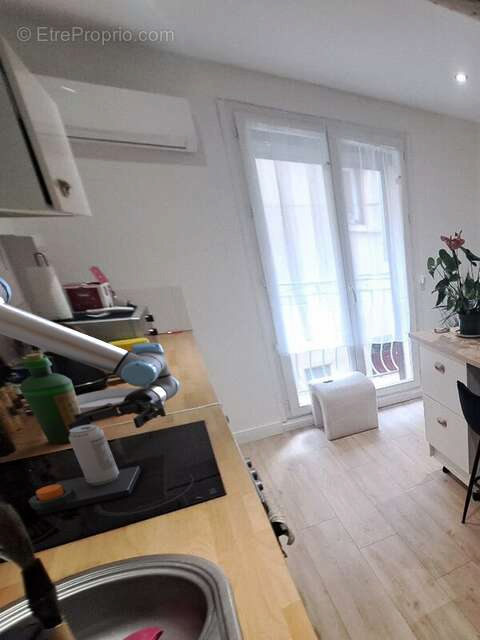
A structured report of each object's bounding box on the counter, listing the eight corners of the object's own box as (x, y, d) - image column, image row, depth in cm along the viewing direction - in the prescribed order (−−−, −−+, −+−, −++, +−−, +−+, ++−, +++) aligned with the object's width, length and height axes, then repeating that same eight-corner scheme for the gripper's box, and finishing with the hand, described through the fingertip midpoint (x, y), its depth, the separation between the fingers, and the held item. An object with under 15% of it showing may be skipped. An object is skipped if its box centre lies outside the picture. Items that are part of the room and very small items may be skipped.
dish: (137, 414, 151) (133, 401, 150) (53, 425, 141) (47, 412, 139) (153, 396, 169) (149, 384, 168) (79, 404, 159) (74, 392, 157)
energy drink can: (100, 475, 109) (79, 423, 104) (126, 473, 110) (107, 422, 105) (81, 487, 104) (58, 433, 98) (109, 485, 105) (87, 432, 99)
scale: (30, 519, 94) (23, 506, 93) (53, 488, 106) (48, 477, 105) (129, 497, 103) (124, 485, 102) (140, 471, 115) (136, 460, 113)
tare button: (36, 502, 95) (32, 495, 94) (43, 494, 98) (39, 487, 97) (61, 497, 97) (57, 490, 96) (66, 489, 100) (63, 482, 99)
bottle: (96, 437, 133) (63, 354, 124) (48, 449, 125) (8, 361, 115) (88, 429, 139) (56, 348, 129) (41, 440, 131) (3, 355, 121)
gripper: (90, 391, 123) (37, 418, 104) (189, 385, 131) (157, 408, 112) (98, 414, 126) (49, 444, 107) (196, 406, 133) (165, 433, 115)
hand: (104, 426), depth 109 cm, fingers open, 13 cm apart
